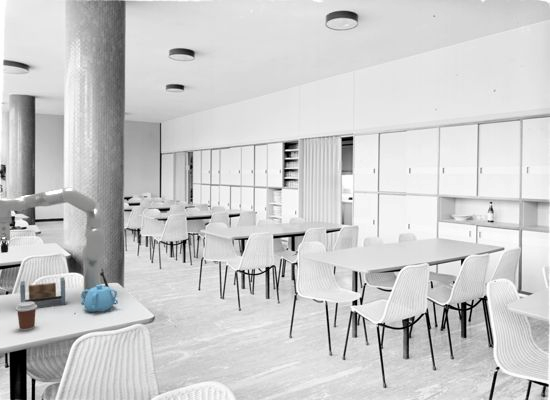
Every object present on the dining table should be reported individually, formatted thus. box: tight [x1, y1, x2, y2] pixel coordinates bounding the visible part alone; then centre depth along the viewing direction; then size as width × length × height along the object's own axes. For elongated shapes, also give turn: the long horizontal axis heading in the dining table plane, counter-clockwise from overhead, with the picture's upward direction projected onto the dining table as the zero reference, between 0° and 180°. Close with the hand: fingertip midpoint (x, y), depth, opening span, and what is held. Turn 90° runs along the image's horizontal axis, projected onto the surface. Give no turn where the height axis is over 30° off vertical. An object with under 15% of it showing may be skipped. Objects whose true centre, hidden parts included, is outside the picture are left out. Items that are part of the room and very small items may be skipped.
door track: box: [19, 277, 67, 310], centre depth 251 cm, size 22×9×14 cm, turn 118°
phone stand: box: [100, 268, 110, 288], centre depth 290 cm, size 9×6×12 cm, turn 113°
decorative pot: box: [80, 284, 119, 313], centre depth 244 cm, size 16×16×14 cm
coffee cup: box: [15, 302, 38, 331], centre depth 214 cm, size 9×9×12 cm
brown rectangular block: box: [28, 282, 57, 299], centre depth 263 cm, size 14×3×9 cm, turn 118°
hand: (4, 251), depth 248 cm, fingers open, 9 cm apart
